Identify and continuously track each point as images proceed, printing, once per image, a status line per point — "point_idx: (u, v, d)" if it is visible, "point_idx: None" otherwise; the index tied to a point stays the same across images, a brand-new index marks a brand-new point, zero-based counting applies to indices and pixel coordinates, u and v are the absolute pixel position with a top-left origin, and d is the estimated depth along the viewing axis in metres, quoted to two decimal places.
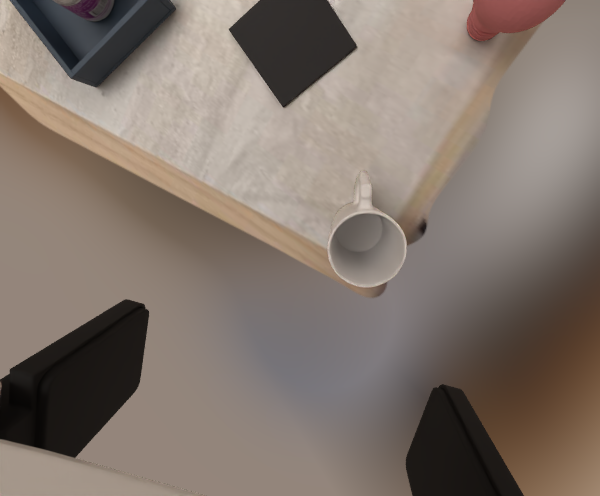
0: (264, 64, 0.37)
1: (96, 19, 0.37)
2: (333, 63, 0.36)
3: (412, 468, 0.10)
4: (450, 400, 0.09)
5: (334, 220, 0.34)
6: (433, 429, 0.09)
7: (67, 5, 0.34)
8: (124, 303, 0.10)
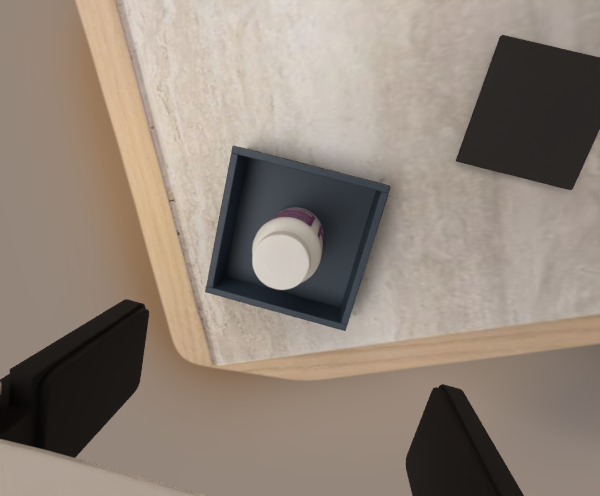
0: (521, 165, 0.28)
1: None
2: None
3: (412, 468, 0.10)
4: (450, 400, 0.09)
5: None
6: (433, 429, 0.09)
7: None
8: (124, 303, 0.10)
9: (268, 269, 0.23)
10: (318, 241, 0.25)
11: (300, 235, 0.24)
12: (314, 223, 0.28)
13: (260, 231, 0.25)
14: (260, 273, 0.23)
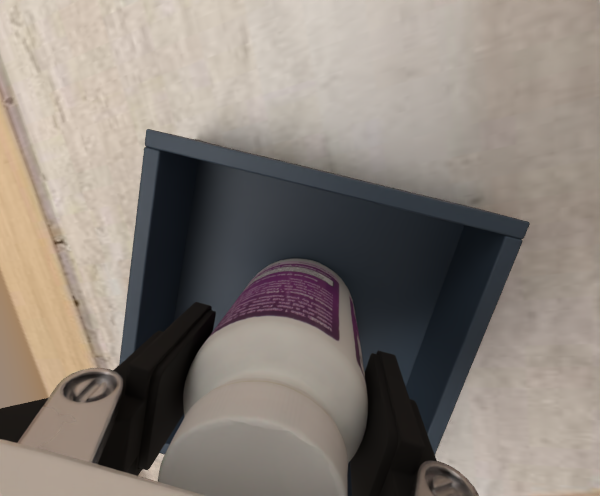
0: None
1: None
2: None
3: None
4: (381, 362, 0.10)
5: None
6: (367, 389, 0.10)
7: None
8: (196, 305, 0.11)
9: None
10: (361, 384, 0.09)
11: (313, 381, 0.08)
12: (341, 309, 0.12)
13: (200, 359, 0.09)
14: None
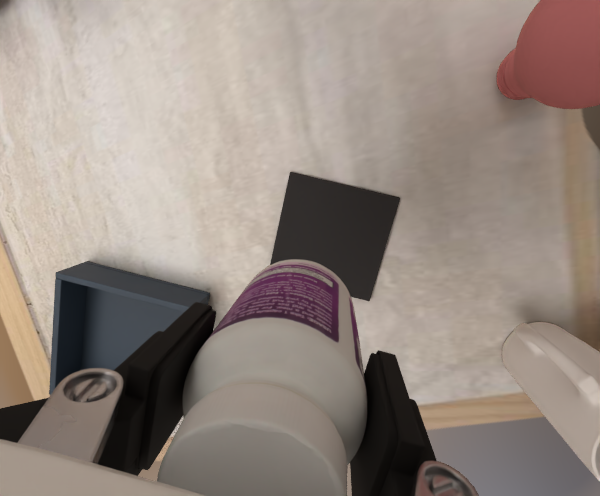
0: None
1: None
2: (389, 229, 0.30)
3: None
4: (381, 362, 0.10)
5: (537, 397, 0.26)
6: (366, 389, 0.10)
7: None
8: (196, 305, 0.11)
9: None
10: (361, 385, 0.09)
11: (312, 382, 0.08)
12: (341, 310, 0.12)
13: (200, 360, 0.09)
14: None
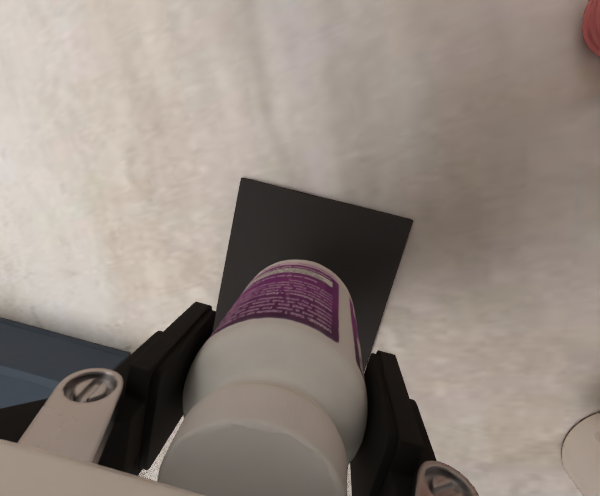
0: None
1: None
2: (395, 268, 0.19)
3: None
4: (381, 362, 0.10)
5: None
6: (367, 389, 0.10)
7: None
8: (196, 305, 0.11)
9: None
10: (361, 386, 0.09)
11: (312, 383, 0.08)
12: (341, 310, 0.12)
13: (200, 361, 0.09)
14: None
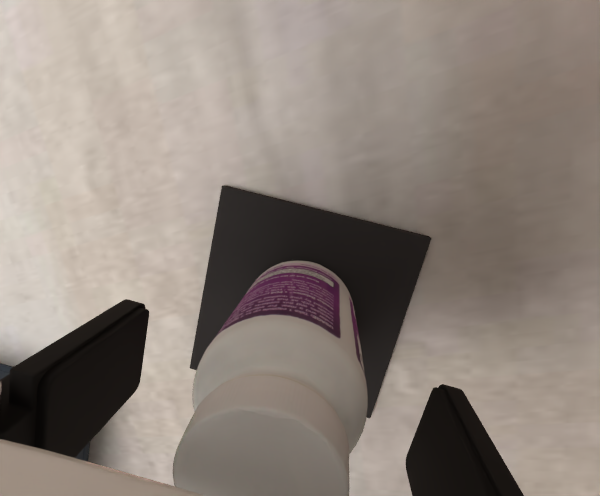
0: None
1: None
2: (408, 295, 0.16)
3: (411, 468, 0.10)
4: (450, 400, 0.09)
5: None
6: (433, 429, 0.09)
7: None
8: (124, 303, 0.10)
9: None
10: (361, 378, 0.10)
11: (316, 375, 0.09)
12: (342, 308, 0.12)
13: (210, 355, 0.09)
14: None
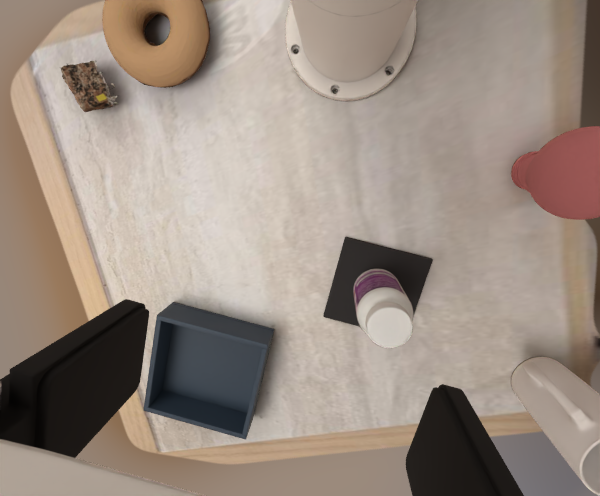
0: None
1: None
2: (423, 283, 0.38)
3: (411, 469, 0.10)
4: (450, 400, 0.09)
5: (539, 419, 0.34)
6: (433, 429, 0.09)
7: None
8: (124, 303, 0.10)
9: (380, 333, 0.29)
10: (411, 306, 0.31)
11: (400, 303, 0.30)
12: (400, 287, 0.34)
13: (366, 299, 0.31)
14: (373, 336, 0.29)
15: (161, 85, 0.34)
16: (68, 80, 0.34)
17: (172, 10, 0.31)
